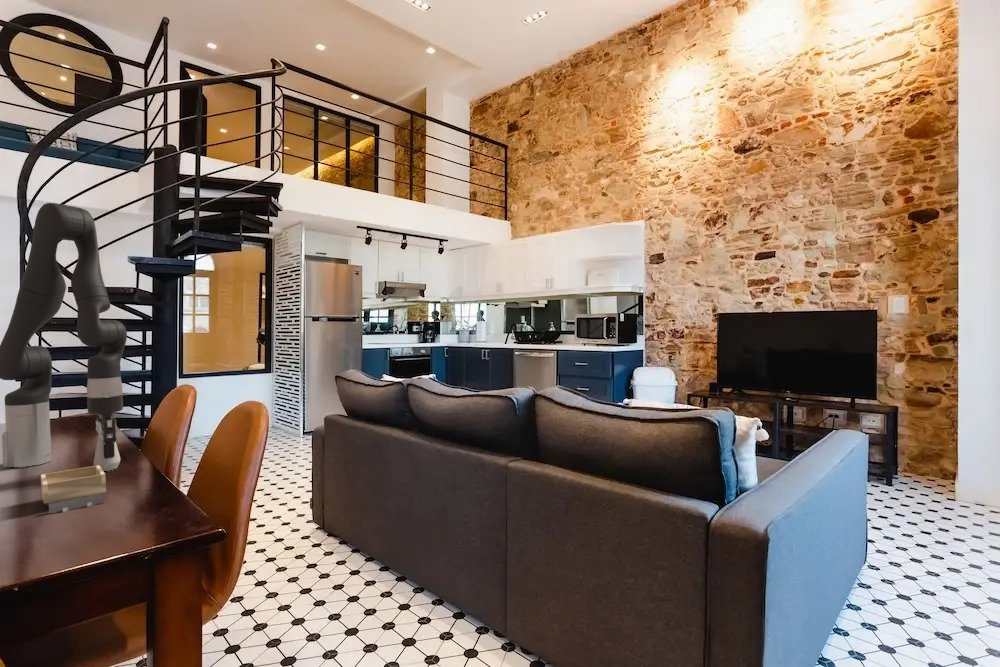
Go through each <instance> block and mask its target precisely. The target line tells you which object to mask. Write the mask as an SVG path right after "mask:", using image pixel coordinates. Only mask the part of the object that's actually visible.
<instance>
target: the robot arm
mask: <svg viewBox="0 0 1000 667" xmlns="http://www.w3.org/2000/svg"><path fill="white" fill-rule="evenodd" d="M32 233H33V234H32V237H31V238H32V239H31V246H30V251H29V255H28V260H27V264H26V267H25V271H24V273H23V274H24V275H23V277H22V280H21V282H20V286H19V290H18V292H17V296H16V301H15V305H14V308H13V311H12V315H11V317H10V321H9V324H8V326H7V329H6V332H5V334H4V336H3V338H2V341H1V343H0V379H1V380H3V381H19V380H25V381H24V384H23V385H22V386H21V387H19V388H17V389H15V390H13V391H11V392H8V393H6V395H4V416H5V419H4V420H5V431H4V432H2V433H1V444H2V446H1V447H2V450H1V451H2V468H10V467H15V468H16V469H17V467H18V468H26V467H27V466H28V467H34V466H37V465H38V466H39V465H42V464H46V463H48V462H51V461H52V446H51V445H52V442H51V441H52V440H51V417H50V416H51V415H50V413H51V412H50V395H51V392H52V376H53V375H52V373H53V371H52V370H53V360H52V356H51V353H50V350H48V348H46V347H45V346H43V345H29V342H30V340H31V339H32V337H33V336H34V335H35V334H36V333H37V332H38V331H39V330H40V329H41V328H42V327H44V326H45V324H47V323H48V322H49V321H51V319H52V318H53V317H55V316H56V315H57V313H58V312H59V310H60V309H61V306H62V304H63V302H64V297H65V294H66V290H67V284H66V280H65V278H64V275H63V273H62V271H61V269H60V267H59V264H58V262H57V250H58V245H59V244H60V240H64V241H71V242H72V241H73V242H74V244H75V247H76V251H77V256H78V257H77V261H76V265H75V267H74V270H73V272H72V274H71V278H70V287H71V291H72V294H73V297H74V300H75V304H76V306H77V315H76V316H77V317H76V318H77V320H76V322H77V324H76V332H77V333H76V334H77V337H78V339H79V340H80V342H81V343H82V344H83V345H84V346H86V347H91V348H92V347H93V348H97V347H101V350H100V352H99V353H98V354H96V355H94V356H90V357H89V358H88V359H87V367H86V368H87V384H86V394H87V395H86V399H87V401H86V402H87V404H86V405H87V413H88V414H91V415H96V418H97V419H95V426H96V425H97V426H98V428H99V432H97V431H96V435H97V436H98V434H99V433H100V437H102V439H103V441H102V443H103V448H104V458H105V459H108V458H113V457H114V456H115V453H114V443H115V442H116V443H117V436H116V434H117V419H116V418H115V417H114V415H113V414H114V413H118V412H121V411H122V410H124V400H123V382H122V376H121V360H122V358H123V354H124V350H125V347H126V342H127V338H128V334H127V329H126V326H125V325H124V323H122V322H121V321H119V320H116V319H100V314H102V313H105V312H106V311H108V310H110V308H111V302H110V298H109V295H108V292H107V289H106V286H105V282H104V279H103V273H102V271H101V264H100V263H101V262H100V253H99V252H100V251H99V245H98V244H99V242H98V234H97V227H96V224H95V220H94V218H93V216H92V214H91V213H90V212H89V211H88V210H87V209H85V208H82V207H77V206H72V205H67V204H62V203H56V202H55V203H54V202H47V203H44V204H43V205H41V207H39V209H38V211H37V214H36V217H35V221H34V226H33V232H32ZM106 436H112V438H106ZM33 465H34V466H33ZM15 468H14V469H15Z"/></svg>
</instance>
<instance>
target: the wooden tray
mask: <svg viewBox="0 0 1000 667" xmlns="http://www.w3.org/2000/svg"><path fill="white" fill-rule="evenodd" d="M106 485H107V484H106V472H104V471H103V470H102V468H101V467H100V465H97V466H94V465H92V466H86V467H77V468H73V469H72V468H71V469H66V470H60V471H54V472H48V473H42V474H40V487H41V488H40V491H41V496H42V503H43V505H46V506H47V507H49V503H52V502H57V501H61V500H67V499H72V498H78V497H82V496H87V495H93V494H98V493H103V494H104V493H107V492H106V491H107V486H106Z"/></svg>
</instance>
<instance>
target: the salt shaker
mask: <svg viewBox="0 0 1000 667" xmlns="http://www.w3.org/2000/svg"><path fill="white" fill-rule="evenodd" d="M95 431H96V433H97V432H99V428H98V426H97V425H96V424H95ZM106 438H112V436H106ZM102 441H103V439H102V437H100V433H99V434H98V435H97V440H96V447H95V453H94V457H93V458H94V459H93V466H97V465H100V467H101V468H102V470H103V471H107V472H111V471H110V470H112V471H114V470H113V469H115V470H117V469H118V467H119V465H120V462H121V456H120V455H121V454H120V452H119V448H118V445H117V441H116V442H115V443H114V453H115V456H114V457H113V458H108V459H105V458H104V448H103V443H102ZM116 468H117V469H116Z"/></svg>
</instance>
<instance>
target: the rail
mask: <svg viewBox="0 0 1000 667" xmlns="http://www.w3.org/2000/svg"><path fill="white" fill-rule="evenodd" d="M101 504H104V492H103V493H98V494H93V495H87V496H83V497H77V498H72V499H67V500H61V501H57V502H52V503H49V506H48V514H49V515H51V514H50V513H52V514H56V513H61V511H62V513H66V512H68V511H70V510H75V509H80V508H81V507H82V508H85V507H87V508H90V507H92V506H95V505H101ZM89 506H90V507H89Z"/></svg>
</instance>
